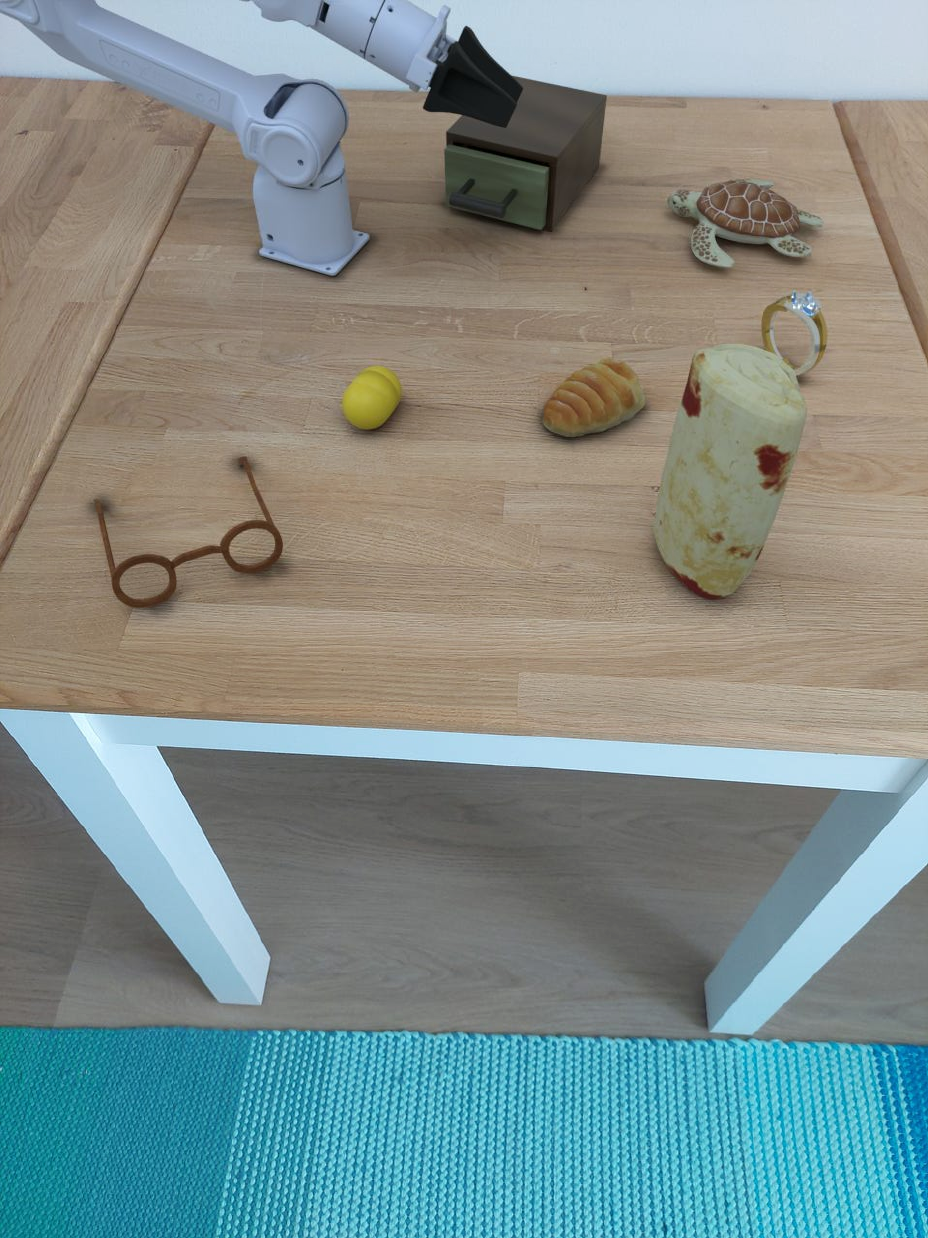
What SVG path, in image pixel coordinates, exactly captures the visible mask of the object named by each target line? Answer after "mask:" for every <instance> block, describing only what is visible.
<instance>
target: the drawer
mask: <svg viewBox="0 0 928 1238" xmlns="http://www.w3.org/2000/svg"><path fill="white" fill-rule="evenodd" d="M443 151H444V152H443V153H444V154H443V155H444V188H445V194H444V195H445V207H447V208H452V209H456V210H460V211H463V212H468V213H472V214H475V215H476V214H477V215H479V216H482V217H483V216H484V217H489V218H492V219H496V220H500V221H502V222H503V221H504V222H507V223H511V224H515V225H519V226H524V227H526V228H527V227H528V228H531V229H535V230H538V231H539V230H540V231H543V230H544V229H543V227H544V226H545V224H546V209H547V194H548V179H549V164H548V163H544V162H539V161H535V160H531V159H527V158H522V157H518V156H514V155H509V154H505V153H501V152H496V151H492V150H488V149H483V148H479V147H475V146H470V145H466V144H462V147H459V146H455V145H450V144H449V145H448V146H447V147H446V146H445V147H444V150H443Z"/></svg>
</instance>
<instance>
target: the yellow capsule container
mask: <svg viewBox="0 0 928 1238" xmlns="http://www.w3.org/2000/svg"><path fill="white" fill-rule="evenodd" d="M402 394H403V388H402V384H401V380H400V379H399V377H398V375H397V374H396V373H395V372H394V371H393V370H392V369H390V368H388V367H386V366H383V365H372V366H368V367H365V368H364V369H362V370H361V372H359V373H357V376H356V377H354V379H353V380H352V382H351V383H350V384H348V386H347V387H346V389H345V391H344V393H343V395H342V398H341V409H342V412H343V415H344V417H345V418H346V420H347V421H348V422H349V424H351V425H352V426H354V427H356V428H358V429H360V430H367V431H368V430H369V431H370V430H373V429H374V430H375V429H377V428H379V427H381V426H382V425H384V424H385V423H386V421H387V420H388V419H389V418H390V417H391V415H392V414H393V412H394V411H395V410H396V409H397V407H398V406H399V403H400V402H401V399H402V396H403V395H402Z"/></svg>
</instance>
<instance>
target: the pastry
mask: <svg viewBox="0 0 928 1238" xmlns="http://www.w3.org/2000/svg"><path fill="white" fill-rule="evenodd" d="M645 405H646V397H645V395H644V389H643V387H642V385H641V384H640V380H639V376H638V374H637V373H636V372H635V370H633V368H632V367H631V366H630V365H628V364H627V363H626V362H625V361H623V360H621V359H615V358H612V357H606V358H605V359H604V358H603V359H600V360H599V361H597V363H594V364H590V365H588V366H587V365H586V366H585V367H583V368H581V369H580V370H577V371H575V372H573V373H572V374H571V375H570V376H568V377H566V379H565V380H564V381H563V382H562V383H560V384H559V385H558V387H557V388H556V389H555V390H554V391H553V393H552V395H551V397H549V399H548V400H547V401H546V402H545V404H544V405H543V417H542V425H543V426H544V427H545V428H546V429H547V430H549V431H550V432H551V433H554V434H556V435H559V436H562V437H565V438H575V437H584V436H585V435H589V434H598V433H603V432H605V431H606V430H610V429H612V428H614V427H616V426H618V425H620V424H621V423H623V422H625V421H629V420H630V419H632V418H633V417H635V415H636V414H637V413H639V412H640V411H641V410H642V409H643V408H644V407H645Z"/></svg>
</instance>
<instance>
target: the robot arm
mask: <svg viewBox="0 0 928 1238" xmlns="http://www.w3.org/2000/svg"><path fill="white" fill-rule="evenodd" d="M240 1H241V2H247V3H248V2H250V1H251V2H252V3H253V4H254V5H255V6H256V7H257V8H259V9H260V10H261V11H260V17H262V18H263V19H265V20H268V21H270V22H276V23H282V22H287V21H294V22H297V23H299V24H301V25H303V26H304V27H306V28H310V29H312V30H313V31H315V32H317V33H319V34H320V35H321V36H324V37H325V38H326V39H329V40H330V41H333V42H334V43H335V44H337V45H339V46H341V47H342V48H344V49H346V50H348V51H349V52H351V53H353V54H354V55H356V56H358V57H360V58H361V59H363V60H365V61H366V62H368V63H370V64H372V65H373V66H375V67H376V68H378V69H380V70H382V71H383V72H385V73H387V74H388V75H390V76H391V77H393V78H395V79H396V80H398V81H400V82H401V83H404V84H405V85H406V86H408V89H409V90H411V91H412V92H414V93H418V92H419V91H420V89H423V90H424V91H427V90H428V89H429V88H430V89H429V90H428V92H427V95H426V97H425V101H424V103H423V105H422V110H424V111H426V112H428V113H446V114H454V115H459V116H462V115H464V116H467V117H471V118H474V119H477V120H480V121H483V122H486V123H489V124H492V125H495V126H499V127H503V128H506V127H507V125H508V123H509V121H510V119H511V117H512V115H513V113H514V110H515V108H516V106H517V101H518V99H519V97H520V95H521V93H522V91H523V87H522V86H521V85H520V83H519V82H518V81H517V80H516V79H515V78H514V77H512V76H513V75H512V74H510V73H509V72H508V71H507V70H506V69H505V68H504V67H503V66H502V65H501V64H499V63H498V61H496V60H495V59H494V58H493V56H492V55H490V53H489V52H488V51H487V49H486V48H485V47H484V46H483V45H482V43H481V42H480V41H479V38H478V37H477V35H476V33H475V32H474V31H473V29H472V28H471V27H470V26H468V25H465V26H464V27H463V29H462V31H461V33H460V35H459V37H458V40H456V39H455V38H453V37H451V36H450V35H448V34H447V27H448V18H449V15H450V13H451V9H452V8H451V7H449V6H448V5H446V4H443V5H442V6H441V8H440V9H439V12H438V15H437V17H435V16H434V15H432V14H431V13H429V12H427V11H426V10H424V9H422V8H421V7H419V6H417V5H416V4H414V3H412V2H411V1H409V0H240ZM0 14H2V15H4V16H6V17H8V18H10V19H14V20H15V21H17V22H19V23H20V24H22V25H23V26H24V27H25V28H26V29H27V30H28V31H30V32H31V33H32V34H33V35H34V36H36V37H37V38H38V39H39V40H40V41H42V42H43V43H44V44H45V45H46V46H47V47H48V48H50V49H51V50H52V51H53V52H55V53H56V54H57V55H59V57H61V58H63V59H64V60H67V61H69V62H71V63H73V64H76V65H78V66H80V67H82V68H85V69H87V70H89V71H92V72H94V73H96V74H98V75H100V76H102V77H105V78H107V79H110V80H111V81H114V82H117V83H119V84H120V85H124V86H126V87H128V88H130V89H132V90H134V91H137V92H139V93H141V94H144V95H146V96H148V97H150V98H152V99H155V100H157V101H160V102H162V103H165V104H166V105H169V106H172V107H174V108H175V109H178V110H180V111H182V112H184V113H187V114H189V115H192V116H194V117H196V118H199V119H201V120H203V121H205V122H207V123H210V124H212V125H214V126H217V127H219V128H222V129H223V130H227V131H228V132H230V133H233V134H235V135H236V136H237V137H236V138H237V139H238V142H239V146H240V148H241V152H242V154H243V157H244V158H246V159H247V160H249V161H252V162H254V163H256V164H258V166H257V169H256V171H255V173H254V176H253V181H252V182H253V183H252V198H253V203H254V209H255V213H256V218H257V223H258V228H259V234H260V239H261V244H262V247H261V248H260V249H259V250H258V252H259V253H258V254H259V255H260V256H261V257H264V258H267V259H271V260H274V261H278V262H281V263H285V264H289V265H292V266H295V267H299V268H303V269H306V270H310V271H313V272H317V273H320V274H324V275H327V276H331V277H334V276H337V275H338V274H339V273H340V271H342V269H343V268H345V266H346V265H347V264H348V263H349V262H350V261H351V260H352V259H353V258H354V257H355V256H356V255H357V253H358V252H359V251H360V250H361V249H362V248H363V247H364V246H365V245H366V244H367V243H368V242H369V241H370V239H371V238H370V234H369V233H367V232H362V231H359V230H355V229H353V220H352V212H351V203H350V195H349V186H348V185H349V184H348V177H347V169H346V160H345V157H344V154H343V152H342V144H341V140H342V139H343V138H344V136H345V135H346V133H347V131H348V128H349V125H350V124H349V123H350V115H349V109H348V106H347V103H346V101H345V99H344V98H343V96H342V95H341V93H340V92H338V90H337V89H336V88H335V87H334V86H332V85H331V84H329V83H328V82H326V81H324V80H321V79H317V78H305V79H301V78H296V77H292V76H290V75H287V74H286V73H271V74H262V75H261V74H260V75H254V74H251V73H250V72H247V71H245V70H243V69H241V68H238V67H236V66H233V65H232V64H228V63H227V62H225V61H222V60H220V59H218V58H215V57H213V56H211V55H209V54H207V53H204V52H202V51H200V50H198V49H196V48H193V47H191V46H189V45H187V44H184V43H182V42H180V41H178V40H175V39H173V38H171V37H168V36H166V35H164V34H163V33H159V32H157V31H155V30H153V29H151V28H148V27H146V26H144V25H141V24H139V23H137V22H135V21H133V20H131V19H128V18H125V17H124V16H123V15H120V14H117V13H115V12H113V11H111V10H108V9H105V8H104V7H101V6H100V5H99V4H98V3H97V1H96V0H0ZM511 75H512V76H511Z"/></svg>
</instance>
